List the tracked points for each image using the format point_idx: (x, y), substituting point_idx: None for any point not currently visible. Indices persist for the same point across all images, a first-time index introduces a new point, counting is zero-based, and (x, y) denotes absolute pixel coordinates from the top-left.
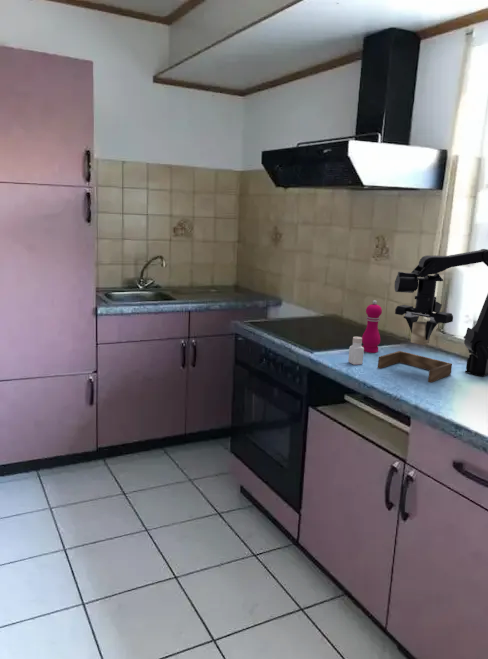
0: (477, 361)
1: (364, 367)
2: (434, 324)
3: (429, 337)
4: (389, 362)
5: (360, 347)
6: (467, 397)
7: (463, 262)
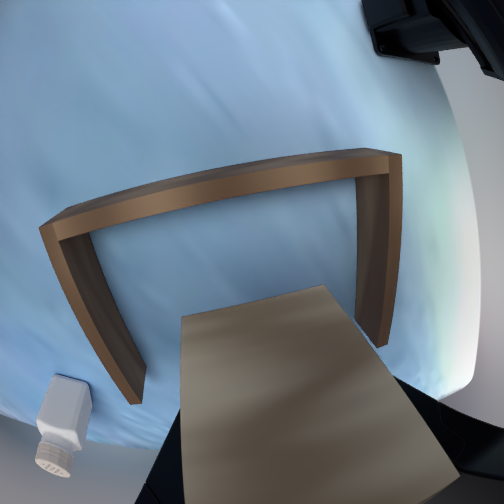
0: (456, 47)
1: (121, 395)
2: (491, 459)
3: (352, 329)
4: (115, 320)
5: (76, 443)
6: (459, 306)
7: None
